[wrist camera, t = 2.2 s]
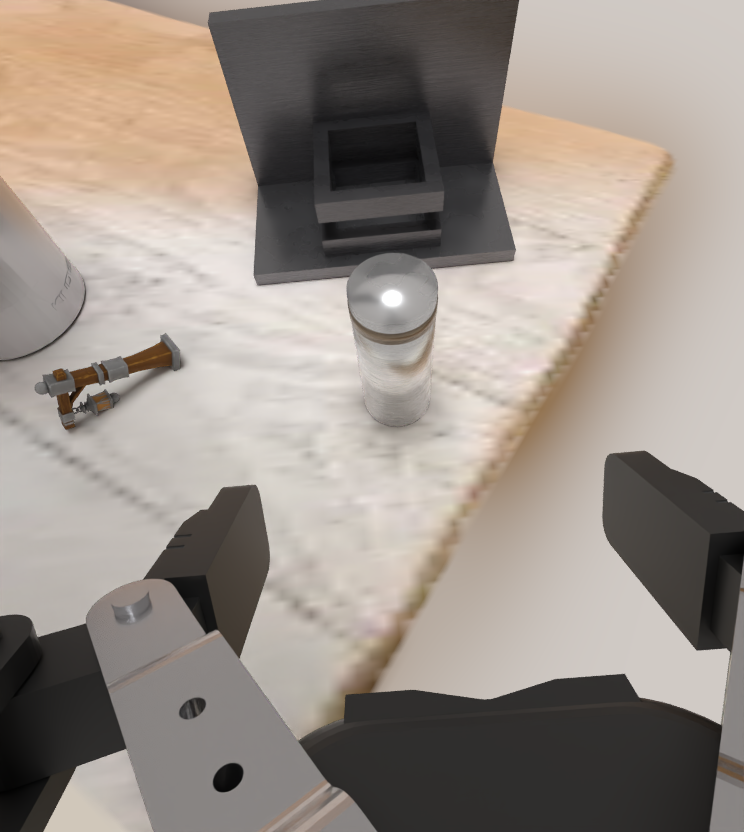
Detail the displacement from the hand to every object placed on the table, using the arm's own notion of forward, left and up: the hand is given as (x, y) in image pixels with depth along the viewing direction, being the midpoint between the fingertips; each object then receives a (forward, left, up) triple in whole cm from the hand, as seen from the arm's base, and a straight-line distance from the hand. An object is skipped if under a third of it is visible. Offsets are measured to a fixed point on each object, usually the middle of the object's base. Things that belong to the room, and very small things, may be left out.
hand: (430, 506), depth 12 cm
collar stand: (0, +28, -16) cm, 32 cm away
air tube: (0, +12, -16) cm, 20 cm away
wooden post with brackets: (-17, +14, -16) cm, 27 cm away
